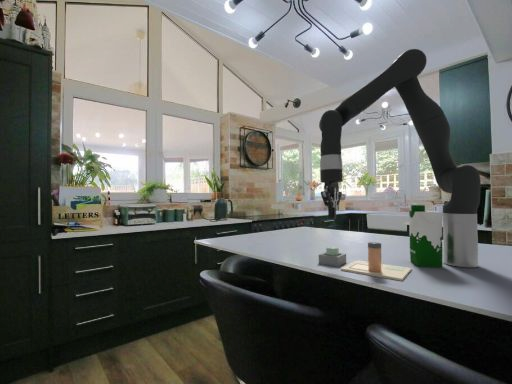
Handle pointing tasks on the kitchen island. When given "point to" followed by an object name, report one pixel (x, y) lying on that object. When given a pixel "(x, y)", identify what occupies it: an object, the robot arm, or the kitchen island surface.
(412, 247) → the milk carton
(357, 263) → the sheet
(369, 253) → the orange jar
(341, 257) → the button base
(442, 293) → the kitchen island surface
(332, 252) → the button
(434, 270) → the kitchen island surface
